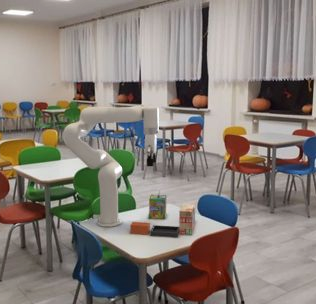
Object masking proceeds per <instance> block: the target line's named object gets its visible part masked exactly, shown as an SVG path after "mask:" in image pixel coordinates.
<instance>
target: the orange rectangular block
mask: <svg viewBox="0 0 316 304" xmlns="http://www.w3.org/2000/svg"><path fill="white" fill-rule="evenodd" d="M150 231H151V222H143V221H132V222H131V223H130V235H132V234H133V235H147V236H148V235H150Z"/></svg>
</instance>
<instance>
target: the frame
mask: <svg viewBox="0 0 316 304" xmlns="http://www.w3.org/2000/svg"><path fill="white" fill-rule="evenodd" d="M179 235H180V234H179V226H177V225H176V226H174V225H173V226H172V225H156V224H153V225H152V227H151V228H150V232H149V236H150V237H163V238H164V237H166V238H179Z"/></svg>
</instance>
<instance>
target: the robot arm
mask: <svg viewBox="0 0 316 304" xmlns="http://www.w3.org/2000/svg"><path fill="white" fill-rule="evenodd" d="M79 116H80V119H79V120H78V121H76V122H72V123H70V124H69V123H68V125H66V126H65V128H64V130H63V133H62V139H63V141H64V142H63V143H64V144H65V146H66V147H67V148H68V149H69V150H70V151H71V152H72V153H73V154H74V155H75V156H76V157H77V158H78V159H79V160H80V161H81V162H82V163H83V164H84V165H86V167H87V168H89V169H91V170H97V169H99V171H98V173H97V181H98V186H99V214H92V218H93V220H97V225H99V226H100V227H105V228H111V227H117V226H120V225H122V219H120V218H119V192H118V191H119V190H118V184H117V180H118V179H120V177H122V174H123V168H122V165H120V163H119V162H118V161H117V160H115V158H114V157H113V156H111V155H110V154H109V153H108V152H107V151H106V150H103V149H101V148H97V149H94V148H93V147H92V146H90V144H88V143H87V142H86V141H84V140H82V139H81V138H83V137H86V136H87V135H89V133H90V132H91V131H92V130H93V129H94V127H96V126H97V124H115V123H117V124H118V123H121V124H122V123H134V122H138V121H142V120H143V121H142V122H143V135H144V136H145V137H144V154H145V155H146V167H154V163H157V155H156V153H157V144H158V143H157V142H158V141H157V135H159V107H158V106H155V105H147V106H144V105H143V106H142V105H132V106H123V107H114V106H111V105H109V106H108V105H107V106H89V107H85V108H83V109H82V110H81V111H80V114H79Z"/></svg>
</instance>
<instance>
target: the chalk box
mask: <svg viewBox="0 0 316 304" xmlns="http://www.w3.org/2000/svg"><path fill="white" fill-rule="evenodd" d="M160 192H161V190H159V191H158V194H150V195H149V199H148V201H149V202H148V218H149V219H150V220H152V219H154V220H166V217H167V197H168V196H167V195H166V194H161V193H160Z"/></svg>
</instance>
